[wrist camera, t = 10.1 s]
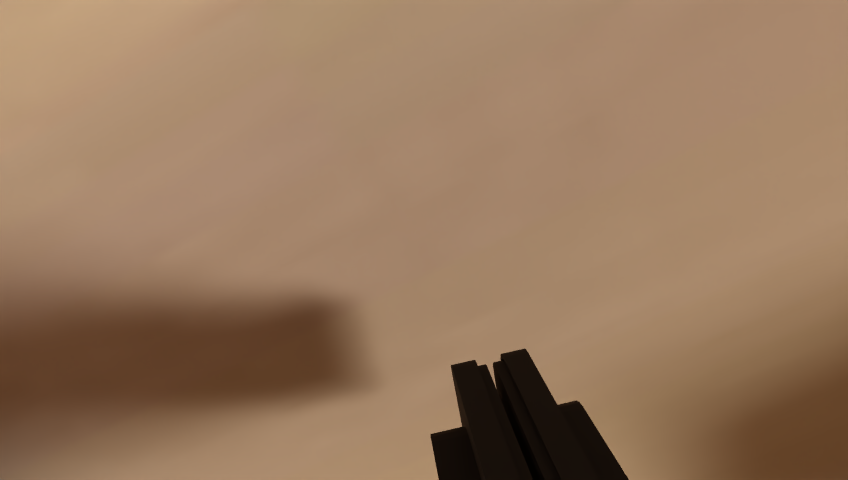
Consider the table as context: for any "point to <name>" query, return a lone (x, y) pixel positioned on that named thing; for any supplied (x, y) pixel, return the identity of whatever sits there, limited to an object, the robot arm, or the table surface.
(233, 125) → the table surface
